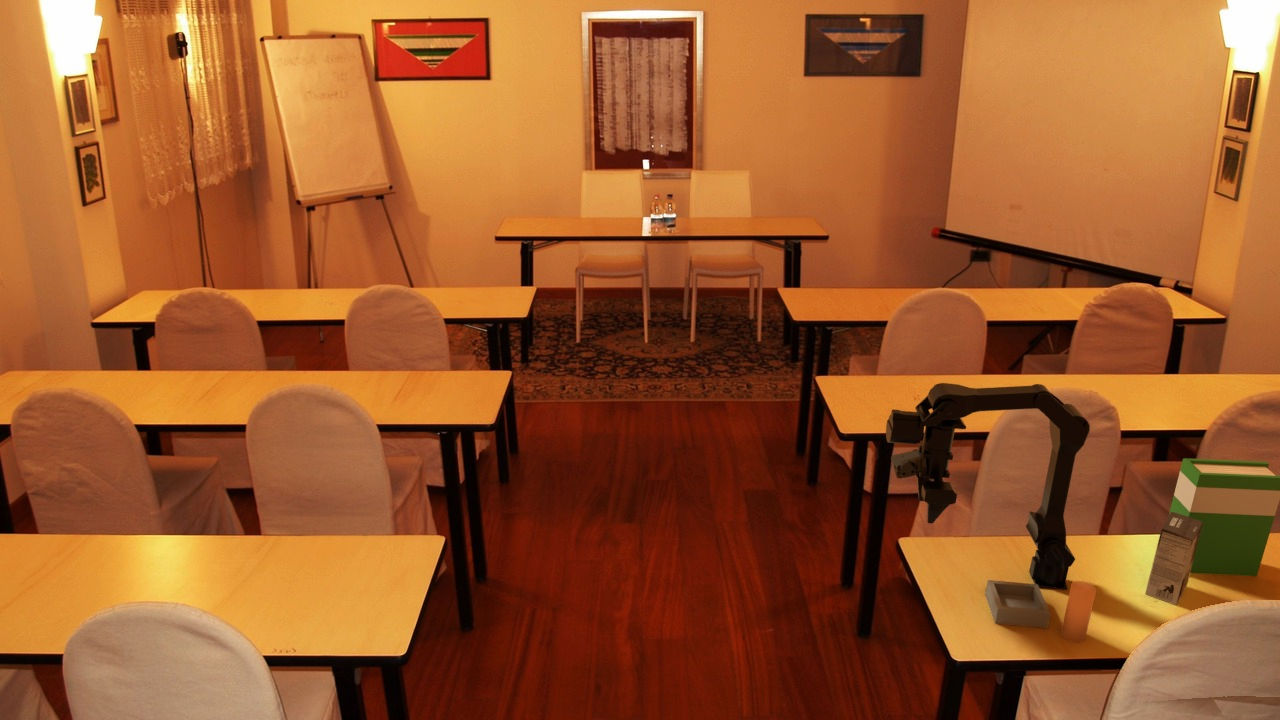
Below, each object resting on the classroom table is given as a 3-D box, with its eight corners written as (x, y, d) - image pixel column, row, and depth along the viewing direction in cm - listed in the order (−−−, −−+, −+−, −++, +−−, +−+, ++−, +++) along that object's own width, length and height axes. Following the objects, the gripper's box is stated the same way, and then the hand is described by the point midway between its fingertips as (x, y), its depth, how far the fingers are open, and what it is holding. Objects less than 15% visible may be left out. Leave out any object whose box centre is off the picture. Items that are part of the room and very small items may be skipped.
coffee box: (1154, 575, 213) (1171, 510, 207) (1187, 587, 209) (1205, 520, 203) (1143, 594, 206) (1160, 527, 200) (1177, 606, 202) (1195, 538, 196)
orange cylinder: (1081, 629, 194) (1092, 582, 190) (1088, 643, 190) (1099, 595, 186) (1058, 627, 195) (1068, 580, 191) (1064, 641, 191) (1075, 593, 187)
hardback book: (1239, 557, 220) (1266, 461, 212) (1256, 576, 214) (1286, 478, 205) (1159, 553, 221) (1183, 458, 212) (1174, 572, 214) (1199, 474, 205)
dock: (1034, 598, 204) (1037, 584, 202) (1047, 628, 194) (1050, 613, 193) (985, 594, 205) (987, 579, 203) (995, 623, 195) (998, 608, 194)
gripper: (889, 422, 210) (880, 487, 215) (905, 462, 192) (894, 532, 198) (942, 426, 209) (931, 491, 215) (963, 467, 192) (950, 536, 198)
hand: (925, 511), depth 206 cm, fingers open, 9 cm apart
